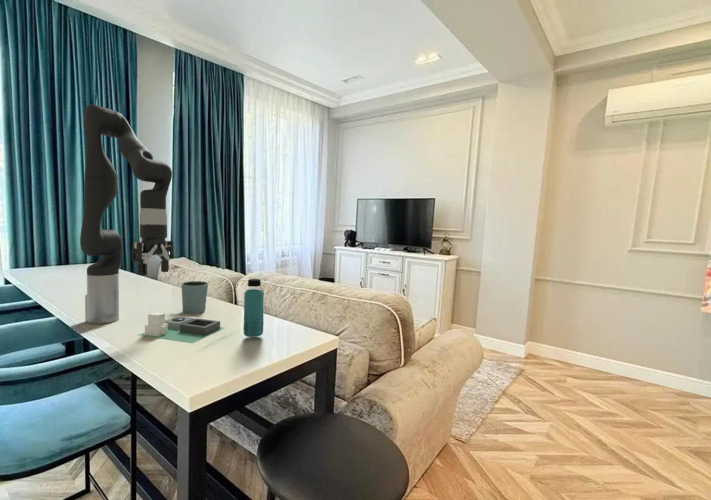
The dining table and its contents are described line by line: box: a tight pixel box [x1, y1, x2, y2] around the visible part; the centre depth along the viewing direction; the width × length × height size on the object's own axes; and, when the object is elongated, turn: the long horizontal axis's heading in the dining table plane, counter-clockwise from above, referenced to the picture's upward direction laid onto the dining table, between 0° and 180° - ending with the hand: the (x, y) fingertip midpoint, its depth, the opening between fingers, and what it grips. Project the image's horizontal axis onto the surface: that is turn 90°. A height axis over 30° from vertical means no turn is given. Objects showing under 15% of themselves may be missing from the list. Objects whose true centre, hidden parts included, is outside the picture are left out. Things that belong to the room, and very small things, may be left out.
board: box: [138, 315, 225, 344], centre depth 110 cm, size 20×16×4 cm
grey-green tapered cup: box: [180, 280, 209, 315], centre depth 139 cm, size 10×10×12 cm
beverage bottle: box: [242, 278, 265, 338], centre depth 111 cm, size 6×7×20 cm
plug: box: [144, 311, 168, 336], centre depth 107 cm, size 6×4×6 cm
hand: (154, 273), depth 107 cm, fingers open, 8 cm apart
